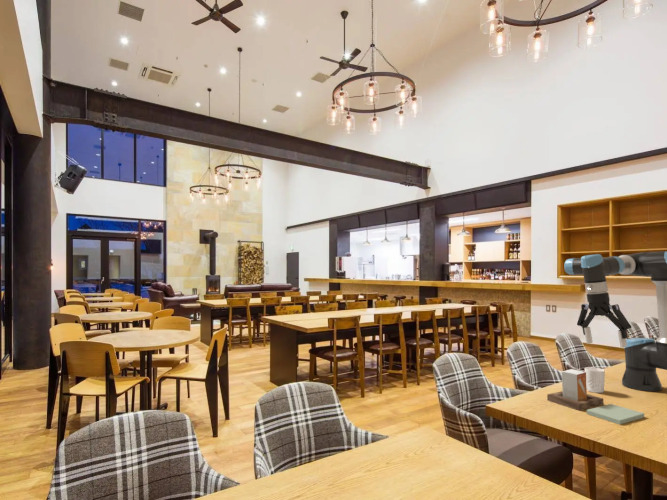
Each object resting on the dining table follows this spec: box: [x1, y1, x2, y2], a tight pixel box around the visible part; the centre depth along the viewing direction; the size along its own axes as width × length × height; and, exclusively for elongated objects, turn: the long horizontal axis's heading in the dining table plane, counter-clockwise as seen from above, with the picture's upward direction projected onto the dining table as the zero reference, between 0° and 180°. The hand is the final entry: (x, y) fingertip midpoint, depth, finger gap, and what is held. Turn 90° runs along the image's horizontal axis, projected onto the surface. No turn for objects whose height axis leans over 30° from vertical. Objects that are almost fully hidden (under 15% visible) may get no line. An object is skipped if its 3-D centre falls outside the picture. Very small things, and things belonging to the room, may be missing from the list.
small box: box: [561, 368, 588, 402], centre depth 168 cm, size 8×6×13 cm
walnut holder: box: [546, 390, 604, 412], centre depth 168 cm, size 16×14×2 cm
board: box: [585, 403, 645, 425], centre depth 152 cm, size 16×12×2 cm
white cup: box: [584, 366, 606, 394], centre depth 183 cm, size 8×8×10 cm
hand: (606, 344), depth 158 cm, fingers open, 13 cm apart
